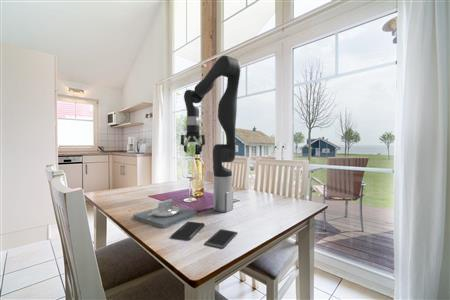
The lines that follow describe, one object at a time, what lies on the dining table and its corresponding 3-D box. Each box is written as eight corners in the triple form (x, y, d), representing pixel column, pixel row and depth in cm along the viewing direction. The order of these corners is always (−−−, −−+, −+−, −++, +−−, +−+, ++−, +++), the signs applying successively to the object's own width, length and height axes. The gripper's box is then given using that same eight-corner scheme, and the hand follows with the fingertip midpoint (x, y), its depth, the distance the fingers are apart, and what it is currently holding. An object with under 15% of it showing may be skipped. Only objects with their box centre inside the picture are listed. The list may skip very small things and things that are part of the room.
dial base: (196, 214, 103) (196, 211, 103) (163, 228, 86) (163, 224, 86) (167, 207, 114) (167, 204, 114) (133, 218, 97) (133, 214, 97)
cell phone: (203, 245, 73) (203, 243, 73) (220, 230, 86) (220, 228, 86) (223, 250, 70) (223, 248, 70) (238, 233, 83) (238, 231, 83)
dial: (166, 207, 108) (166, 196, 108) (184, 211, 102) (184, 200, 102) (139, 216, 95) (139, 204, 95) (158, 221, 89) (158, 208, 89)
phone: (205, 223, 90) (190, 238, 76) (205, 226, 90) (190, 241, 76) (187, 221, 92) (169, 235, 78) (187, 224, 92) (169, 238, 78)
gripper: (206, 125, 131) (206, 152, 131) (183, 125, 133) (183, 152, 133) (203, 124, 123) (202, 152, 124) (179, 124, 125) (179, 152, 126)
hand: (192, 152), depth 129 cm, fingers open, 8 cm apart
